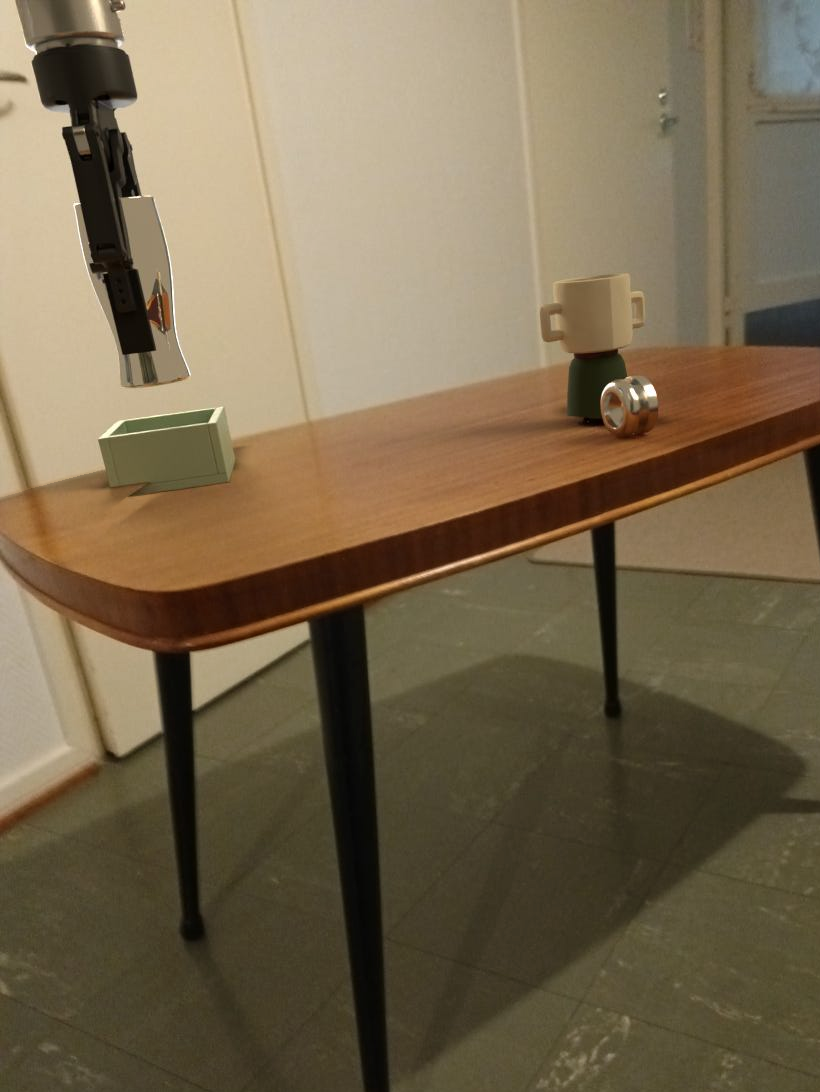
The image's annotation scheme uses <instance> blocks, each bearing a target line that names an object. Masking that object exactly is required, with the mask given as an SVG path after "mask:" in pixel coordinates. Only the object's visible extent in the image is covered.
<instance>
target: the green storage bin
mask: <svg viewBox="0 0 820 1092" xmlns="http://www.w3.org/2000/svg"><path fill="white" fill-rule="evenodd" d="M228 422H229V421H228V418H227V413H226V409H225V406H216V407H210V408H209V407H208V408H202V409H195V410H187V411H180V412H173V413H166V414H165V413H164V414H159V415H158V414H157V415H151V416H144V417H136V418H130V419H121V420H117V421H116V422H115V423H114V424H113V425H111V427H110V428H108V429H107V430H106V431H105V432H104V433H103V434H102V435H100V436H99V437H98V438H97V442H98V445H99V449H100V454H101V457H102V461H103V464H104V468H105V472H106V477H107V480H108V484H109V487H110V488H114V487H122V486H128V485H135V484H142V483H146V484H144V485H143V486H141V487H140V488H138V489H136V490H135V491H134V492H132V493H131V494H129V495H127V498H130V497H136V496H137V497H138V496H143V495H150V494H157V493H162V492H170V491H177V490H183V489H191V488H198V487H203V486H211V485H218V484H226V483H229V482H230V481H231V476H232V473H233V469H234V467H235V464H236V456H235V451H234V447H233V446H234V445H233V441H232V437H231V432H230V427H229V423H228Z"/></svg>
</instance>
